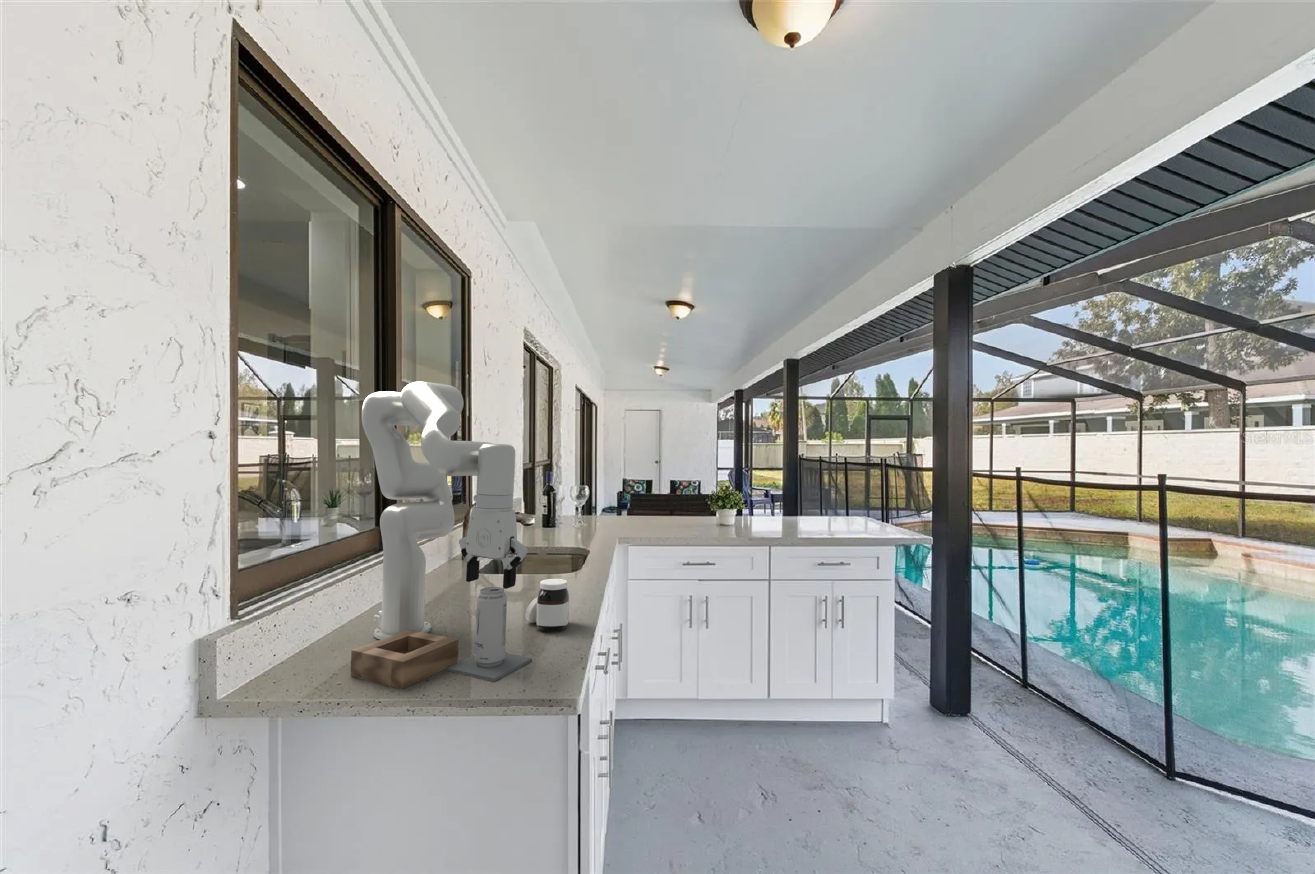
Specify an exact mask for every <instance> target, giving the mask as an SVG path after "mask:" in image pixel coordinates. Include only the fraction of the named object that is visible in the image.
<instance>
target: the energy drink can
mask: <svg viewBox="0 0 1315 874" xmlns="http://www.w3.org/2000/svg"><path fill="white" fill-rule="evenodd" d="M479 590H480V592H479V594H478V595H477V597H476V612H475V613H476V614H475V617H476V618H475V641H474V642H475V643H474V644H475V646H474V655H475V661H477V662H478V663H477V664H478V665H479V666H482V667H492V666H497V665H499V664H501V663H502V660H503V659H504V658H505V653H506V641H507V640H506V639H507V638H506V636H507V635H506V634H507V607H508V606H507V605H508V604H507V603H508V597H507V594H506V593H505V589H504V588H503V587H500V586H499V587H498V586H489V587H484V588H481V589H479Z"/></svg>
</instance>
